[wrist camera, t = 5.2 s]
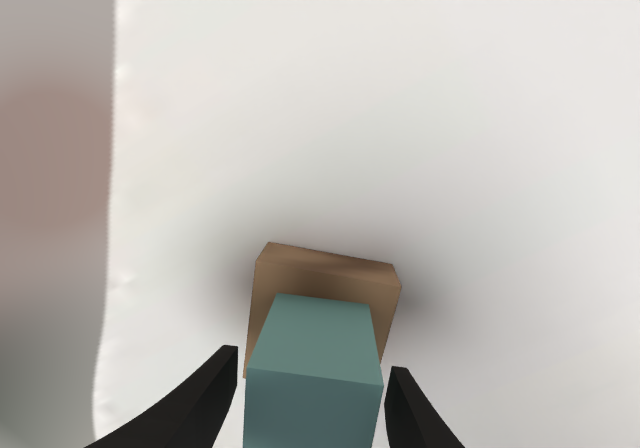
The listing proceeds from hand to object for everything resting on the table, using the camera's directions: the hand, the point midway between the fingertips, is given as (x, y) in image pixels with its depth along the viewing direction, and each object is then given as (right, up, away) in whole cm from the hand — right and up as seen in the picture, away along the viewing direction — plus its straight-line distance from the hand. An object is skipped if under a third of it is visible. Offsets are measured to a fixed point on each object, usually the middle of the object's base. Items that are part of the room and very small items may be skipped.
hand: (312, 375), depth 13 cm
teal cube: (0, +1, +2) cm, 3 cm away
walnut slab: (0, +2, +5) cm, 6 cm away
